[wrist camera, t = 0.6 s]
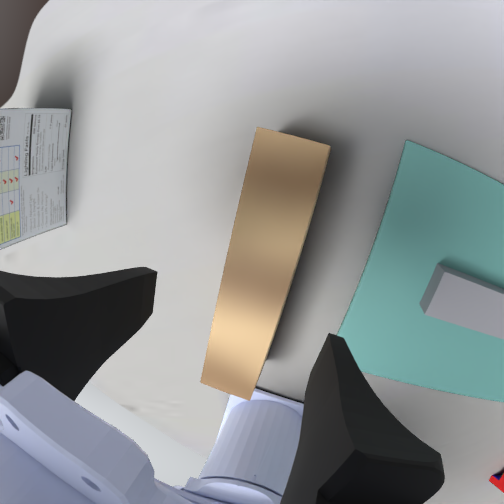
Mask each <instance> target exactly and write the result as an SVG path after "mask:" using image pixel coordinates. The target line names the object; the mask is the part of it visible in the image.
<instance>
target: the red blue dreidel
mask: <svg viewBox="0 0 504 504" xmlns="http://www.w3.org/2000/svg"><path fill="white" fill-rule="evenodd" d="M489 481H490V482H491V483H492V484H494V485H495V486H496V487H497V488H499V489H500V490H501V491H502V492H504V473H503V474H502V476H498V475H492V476H491V478H490V480H489Z"/></svg>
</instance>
